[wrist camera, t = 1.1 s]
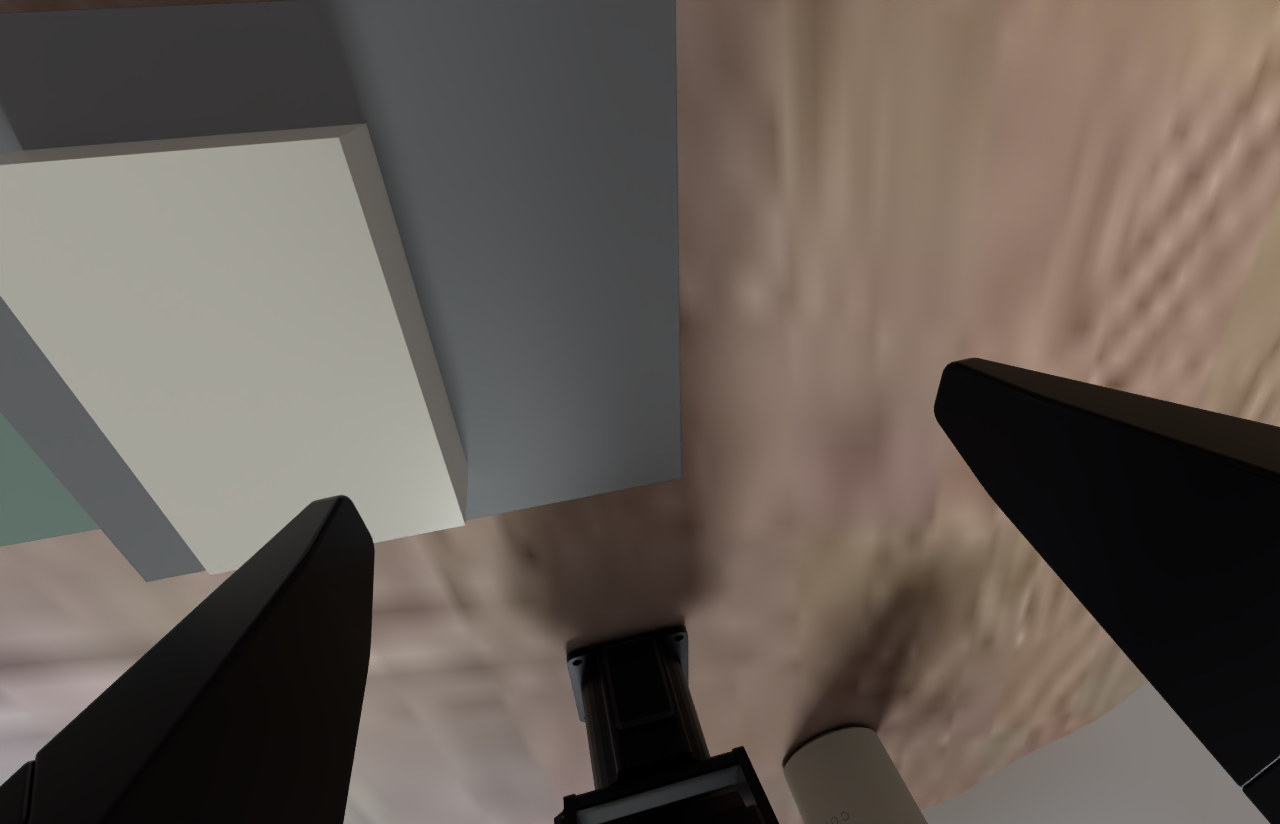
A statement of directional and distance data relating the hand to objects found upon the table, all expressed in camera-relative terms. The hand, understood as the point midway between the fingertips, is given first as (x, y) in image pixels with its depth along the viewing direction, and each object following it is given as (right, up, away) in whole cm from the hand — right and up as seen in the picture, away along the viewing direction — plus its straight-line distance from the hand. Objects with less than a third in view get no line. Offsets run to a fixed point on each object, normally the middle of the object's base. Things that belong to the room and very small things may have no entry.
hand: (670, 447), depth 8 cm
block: (-9, +2, +5) cm, 10 cm away
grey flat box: (-8, +5, +8) cm, 13 cm away
